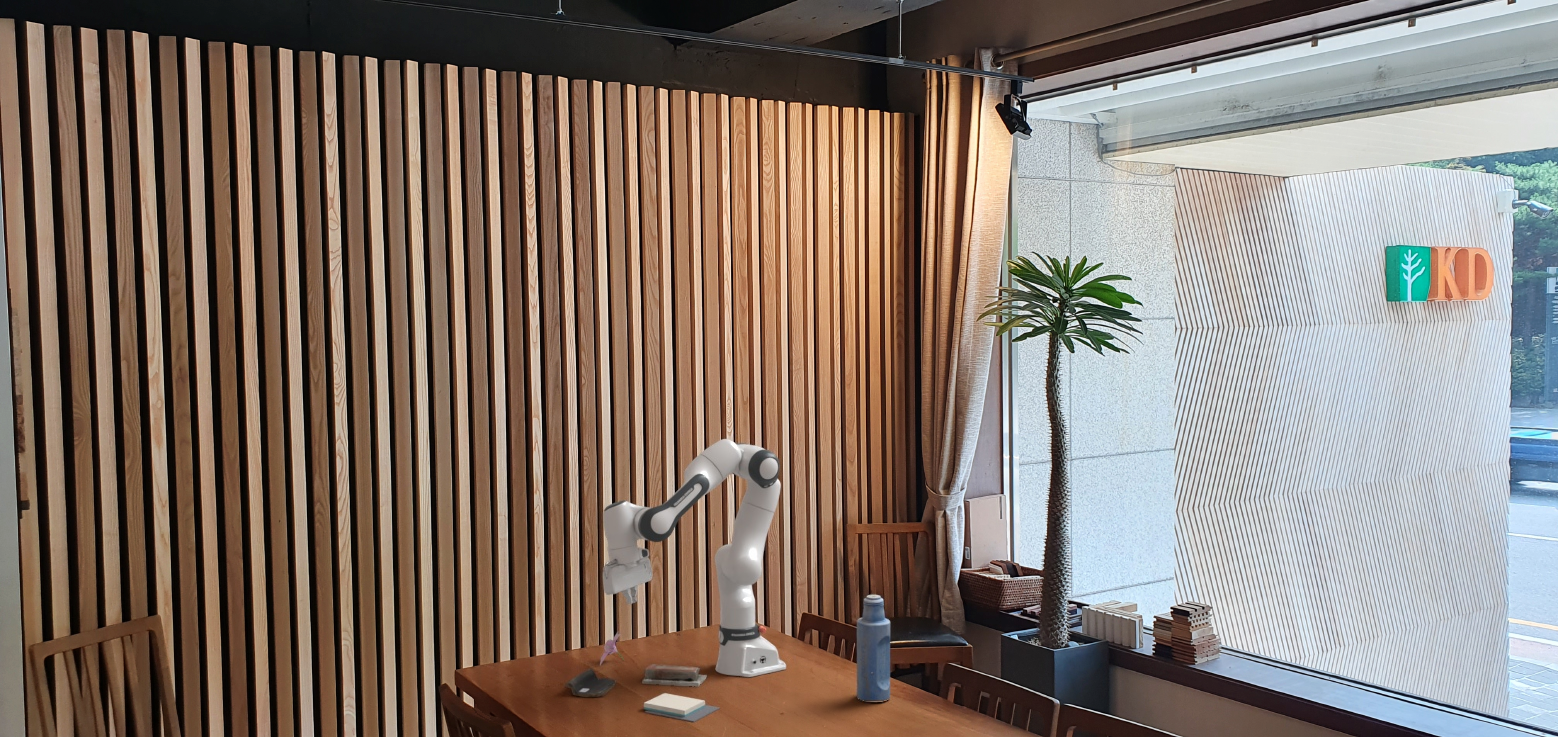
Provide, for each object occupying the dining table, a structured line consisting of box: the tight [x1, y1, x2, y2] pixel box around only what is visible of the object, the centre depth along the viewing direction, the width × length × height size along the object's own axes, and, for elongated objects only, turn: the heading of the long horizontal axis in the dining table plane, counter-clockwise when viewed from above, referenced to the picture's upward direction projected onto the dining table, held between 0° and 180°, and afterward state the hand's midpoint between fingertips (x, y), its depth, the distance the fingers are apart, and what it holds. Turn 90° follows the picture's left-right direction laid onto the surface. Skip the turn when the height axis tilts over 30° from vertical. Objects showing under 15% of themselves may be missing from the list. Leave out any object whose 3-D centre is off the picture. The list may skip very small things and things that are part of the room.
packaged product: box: [641, 663, 708, 688], centre depth 336 cm, size 18×5×10 cm
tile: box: [643, 692, 706, 717], centre depth 309 cm, size 2×10×14 cm
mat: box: [644, 704, 721, 723], centre depth 308 cm, size 16×13×1 cm
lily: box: [599, 630, 625, 666], centre depth 357 cm, size 12×12×10 cm
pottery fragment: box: [564, 668, 616, 698], centre depth 327 cm, size 15×12×4 cm
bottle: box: [856, 594, 891, 701], centre depth 318 cm, size 10×10×30 cm
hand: (632, 602), depth 323 cm, fingers closed
